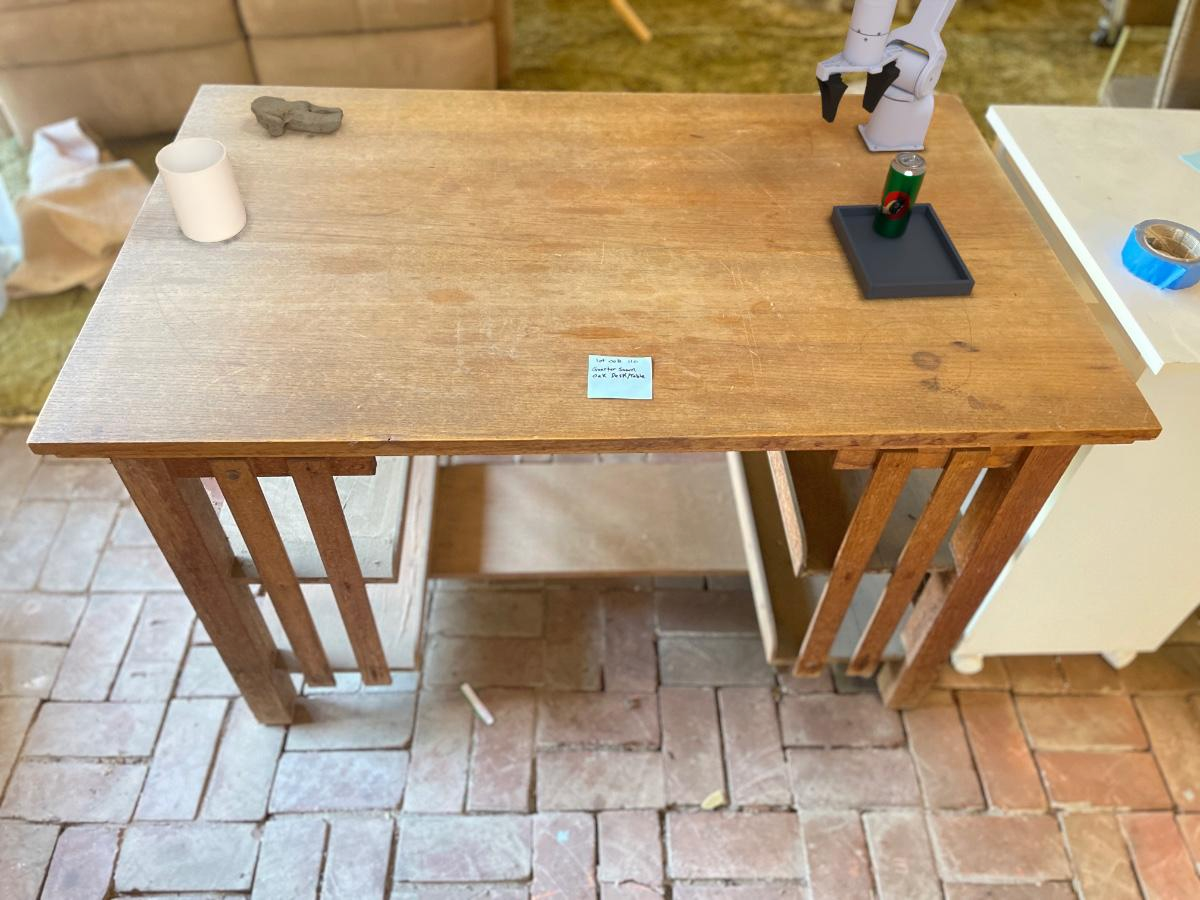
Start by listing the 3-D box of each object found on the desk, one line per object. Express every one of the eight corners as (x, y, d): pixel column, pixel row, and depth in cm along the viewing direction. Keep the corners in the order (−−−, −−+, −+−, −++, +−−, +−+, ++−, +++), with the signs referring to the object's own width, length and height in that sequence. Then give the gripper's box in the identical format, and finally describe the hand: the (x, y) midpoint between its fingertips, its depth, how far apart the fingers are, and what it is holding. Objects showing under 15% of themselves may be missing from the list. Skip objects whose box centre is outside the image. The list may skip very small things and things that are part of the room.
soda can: (911, 237, 138) (935, 167, 129) (881, 242, 137) (903, 171, 128) (895, 218, 141) (917, 148, 132) (865, 223, 140) (886, 152, 131)
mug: (176, 246, 133) (149, 175, 124) (190, 199, 141) (165, 129, 132) (244, 243, 134) (221, 172, 125) (253, 196, 142) (233, 126, 133)
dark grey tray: (925, 215, 144) (930, 202, 142) (970, 295, 131) (975, 282, 129) (830, 218, 142) (833, 205, 140) (865, 299, 130) (869, 286, 128)
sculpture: (349, 121, 158) (261, 112, 157) (346, 96, 154) (255, 86, 153) (342, 145, 154) (250, 136, 153) (339, 120, 150) (245, 111, 149)
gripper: (844, 47, 128) (823, 136, 138) (927, 30, 132) (901, 117, 142) (815, 26, 132) (797, 114, 142) (896, 10, 136) (873, 96, 147)
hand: (847, 114), depth 143 cm, fingers open, 7 cm apart
